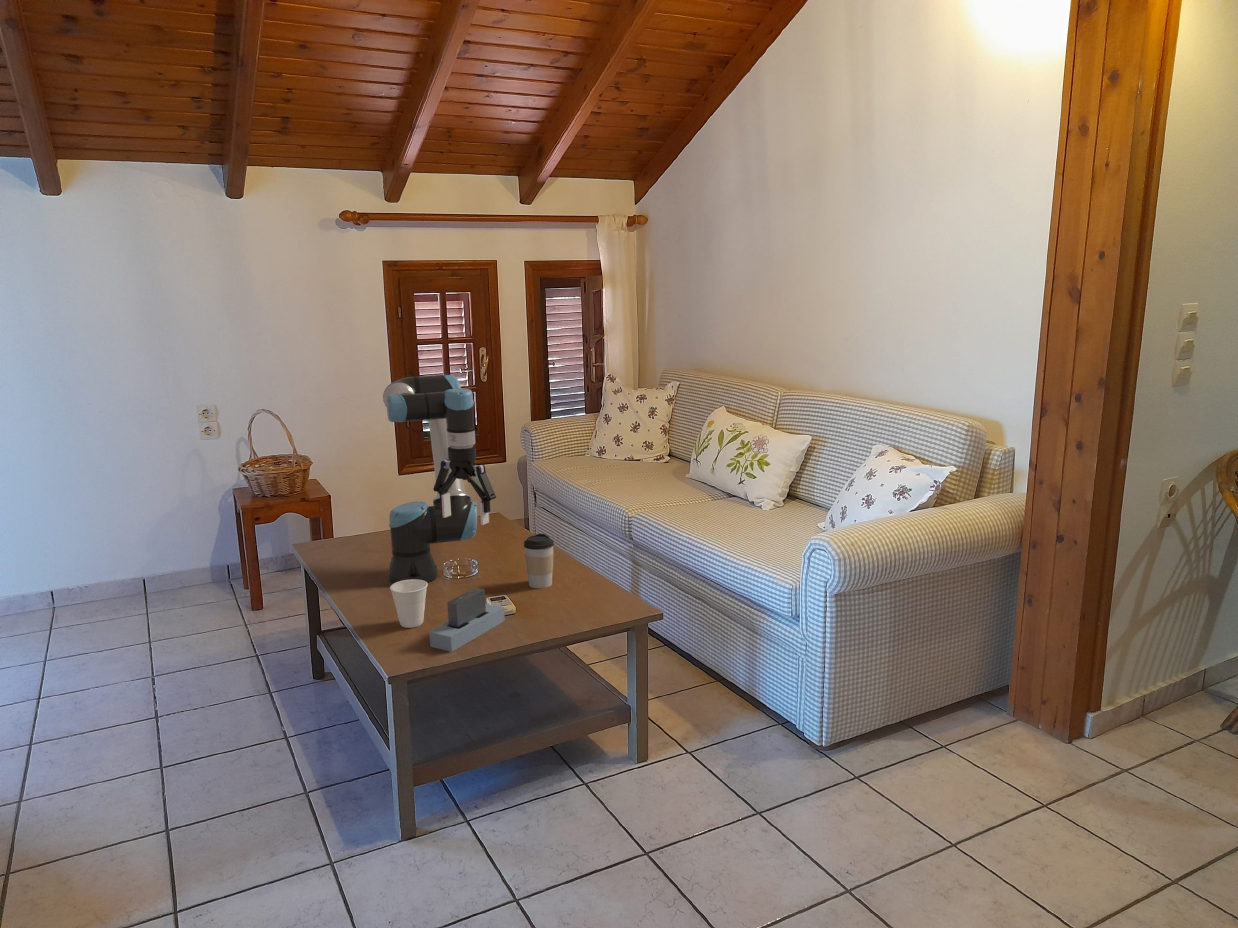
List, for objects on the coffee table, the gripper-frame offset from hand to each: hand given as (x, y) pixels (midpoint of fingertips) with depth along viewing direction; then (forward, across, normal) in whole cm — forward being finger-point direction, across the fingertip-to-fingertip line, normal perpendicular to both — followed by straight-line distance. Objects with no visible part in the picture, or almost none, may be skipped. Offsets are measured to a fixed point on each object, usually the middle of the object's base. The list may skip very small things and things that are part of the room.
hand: (465, 519), depth 247 cm
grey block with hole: (+25, +13, -16) cm, 32 cm away
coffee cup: (+26, +9, +22) cm, 35 cm away
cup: (+25, -5, -19) cm, 32 cm away
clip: (+24, +13, -17) cm, 32 cm away
